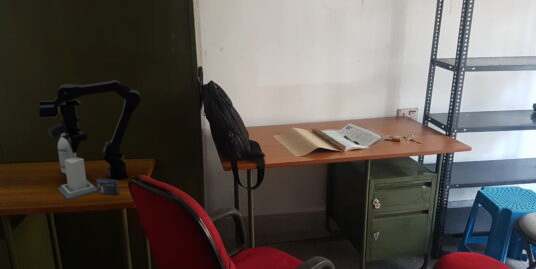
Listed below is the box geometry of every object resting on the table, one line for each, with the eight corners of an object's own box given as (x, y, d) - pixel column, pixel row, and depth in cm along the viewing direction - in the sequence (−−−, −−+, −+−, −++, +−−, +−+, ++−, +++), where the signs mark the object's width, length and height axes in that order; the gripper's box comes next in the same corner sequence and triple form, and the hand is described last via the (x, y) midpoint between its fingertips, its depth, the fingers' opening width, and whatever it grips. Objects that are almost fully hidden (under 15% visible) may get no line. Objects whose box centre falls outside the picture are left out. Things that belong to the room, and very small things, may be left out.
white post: (79, 185, 176) (75, 156, 172) (87, 188, 174) (83, 159, 170) (68, 189, 172) (64, 160, 168) (76, 192, 170) (71, 163, 166)
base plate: (87, 181, 181) (87, 177, 181) (98, 191, 173) (98, 186, 172) (57, 189, 174) (57, 185, 173) (67, 200, 165) (66, 195, 165)
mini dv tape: (97, 193, 171) (96, 179, 169) (100, 192, 172) (98, 178, 170) (117, 195, 170) (115, 181, 168) (119, 193, 171) (117, 180, 169)
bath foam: (74, 166, 197) (69, 124, 191) (80, 171, 192) (74, 128, 186) (59, 170, 192) (52, 128, 186) (64, 175, 188) (58, 131, 181)
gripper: (41, 114, 174) (46, 150, 179) (55, 124, 161) (60, 163, 166) (69, 110, 181) (74, 145, 186) (85, 119, 168) (89, 157, 173)
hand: (74, 152), depth 177 cm, fingers closed
